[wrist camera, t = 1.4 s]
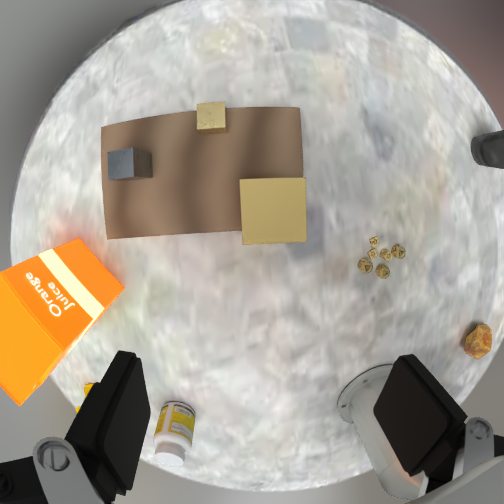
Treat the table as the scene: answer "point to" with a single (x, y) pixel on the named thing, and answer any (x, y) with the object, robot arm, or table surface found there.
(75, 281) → the orange juice
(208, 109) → the wooden stub
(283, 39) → the table surface
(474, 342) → the pyrite
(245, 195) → the tan rectangular block
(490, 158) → the beverage cup
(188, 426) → the supplement bottle
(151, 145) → the board
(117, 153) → the post
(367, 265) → the set of tan pieces
